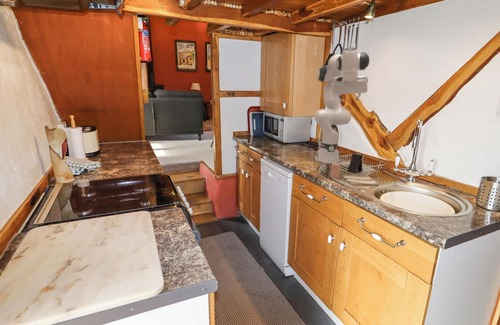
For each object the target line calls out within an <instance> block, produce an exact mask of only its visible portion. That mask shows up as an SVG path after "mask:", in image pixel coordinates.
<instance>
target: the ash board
mask: <svg viewBox="0 0 500 325" xmlns="http://www.w3.org/2000/svg"><path fill="white" fill-rule="evenodd" d="M342 179H344V180H345V182H347V183H348V184H349V185H350V186H363V187H364V186H365V187H367V186H368V187H379V183H378V182H377V181H375V180H374V179H372V178H371V177H370V176H368V175H348V174H342Z"/></svg>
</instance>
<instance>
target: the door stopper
mask: <svg viewBox="0 0 500 325" xmlns="http://www.w3.org/2000/svg"><path fill="white" fill-rule="evenodd" d="M357 170H358V171H357ZM347 172H350V173H353V174H358V173H361V172H363V154H359V153H355V152H354V153H353V152H352V154H351V159H350V162H349V165H348V167H347Z"/></svg>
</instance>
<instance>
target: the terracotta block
mask: <svg viewBox="0 0 500 325" xmlns="http://www.w3.org/2000/svg"><path fill="white" fill-rule="evenodd" d="M340 169H341V164H340V162H337V163H332V164H331V167H330V173H329V174H330V176H329V177H330V178H331V179H332V180H339V179H340V178H339V177H340Z"/></svg>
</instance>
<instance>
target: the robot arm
mask: <svg viewBox="0 0 500 325" xmlns="http://www.w3.org/2000/svg"><path fill="white" fill-rule="evenodd" d="M369 64H370V56H369V55H368V53H366V52H363V51H362V52H358V49H357V47H346V48H344V49H343V50H342V54H340V53H338V54H334V55H332V56H331V57H330V58H329V59H328V62H327V65H325V64H324V65H323V66H321V67H320V68H319V69H318V71H317V75H316V76H317V80H318V81H319V82H322V83H324V82H325V83H324V84H325V85H324V88H323V104H324V106H325V107H326V108H321V109H318V110H316V112H315V114H314V120H315V122H316V123H317V124H318V125H319V127H320V128H321V131H322V141H321V143H320V148H319V149H318V150H316V151H315V154H316V155H314V161H315V162H318V163H319V162H320V163H323V164H331V165H332V163H340V162H341V160H340V159H339V155H340V152H339V150H338V146H339V143H338V141H339V132H338V131H337V130H336V129H334V128H332V125H336V126H338V125H339V126H342V125H348V124H349V123H350V122H351V120H352V119H351V118H352V114H351V112H350V111H349V110H347V109H346V108H345V107H343V105H342V104H341V103H342V102H343V98H341V95H349V94H351V95H352V94H357V97H355V102H358V101H359V100H360V99H359V98H360V97H361V95H362V94H366V93H367V92H368V83H369V78H368V77H367V76H358V75H359V74H358V71H365V70H366V69H367V68H368V67H369Z"/></svg>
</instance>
